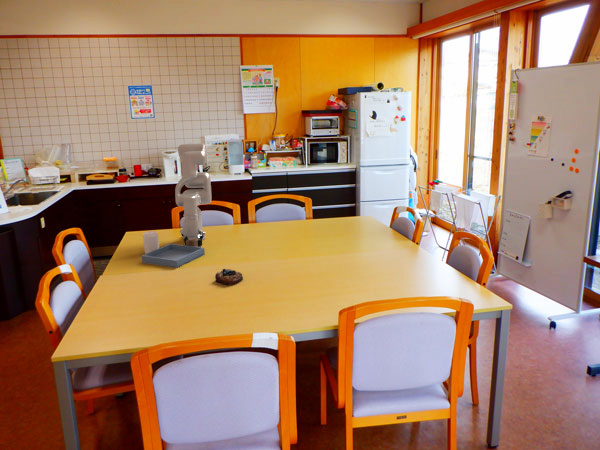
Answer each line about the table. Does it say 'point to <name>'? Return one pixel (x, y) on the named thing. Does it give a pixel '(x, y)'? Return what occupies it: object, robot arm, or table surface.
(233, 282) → the pastry
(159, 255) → the slate tray
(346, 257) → the table surface
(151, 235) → the beverage can
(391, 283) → the table surface
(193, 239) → the walnut block
